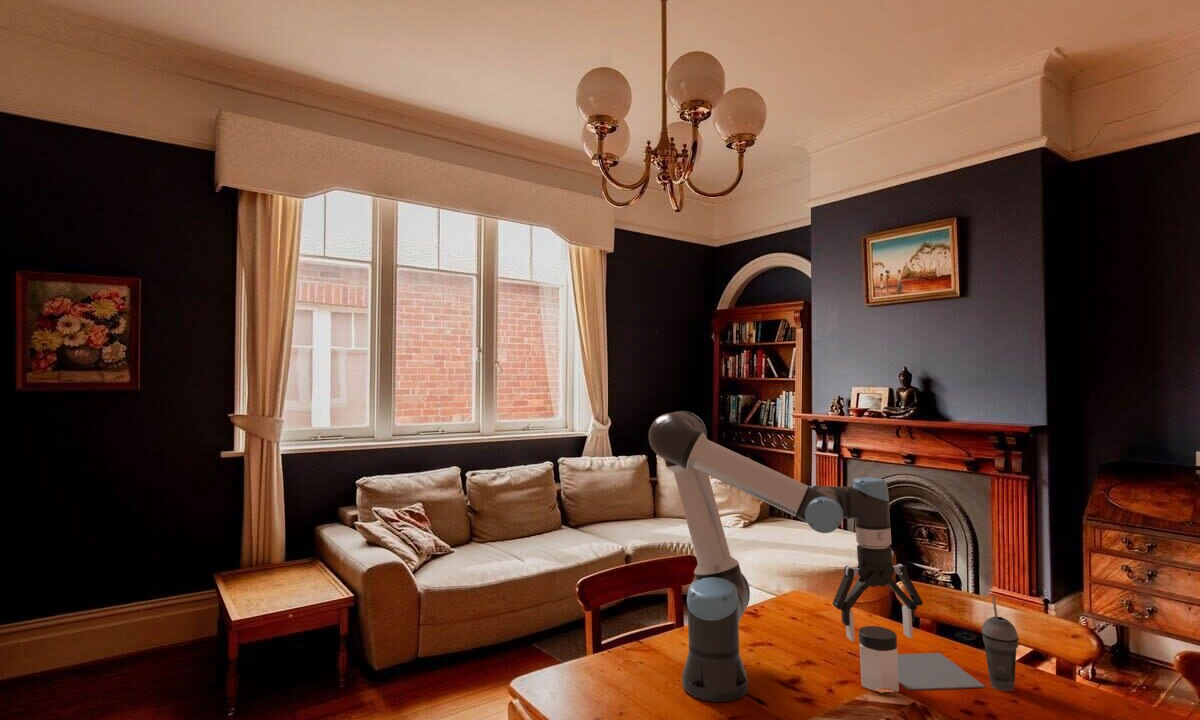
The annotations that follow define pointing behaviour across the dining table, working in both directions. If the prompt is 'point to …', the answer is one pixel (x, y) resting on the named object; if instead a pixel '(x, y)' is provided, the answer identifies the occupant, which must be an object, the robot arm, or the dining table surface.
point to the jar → (878, 658)
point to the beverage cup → (1000, 651)
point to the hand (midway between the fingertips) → (879, 637)
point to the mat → (932, 673)
